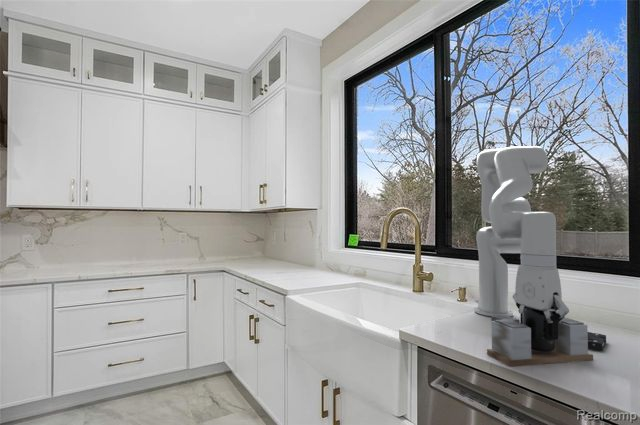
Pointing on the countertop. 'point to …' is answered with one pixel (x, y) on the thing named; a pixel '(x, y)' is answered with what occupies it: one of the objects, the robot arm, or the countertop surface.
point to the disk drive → (596, 341)
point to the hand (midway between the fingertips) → (538, 333)
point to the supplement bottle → (537, 329)
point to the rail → (516, 350)
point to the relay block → (500, 317)
